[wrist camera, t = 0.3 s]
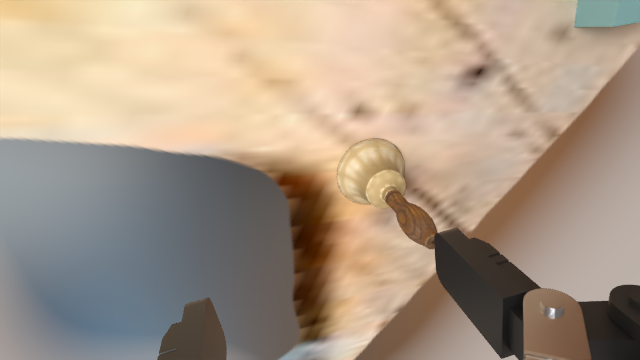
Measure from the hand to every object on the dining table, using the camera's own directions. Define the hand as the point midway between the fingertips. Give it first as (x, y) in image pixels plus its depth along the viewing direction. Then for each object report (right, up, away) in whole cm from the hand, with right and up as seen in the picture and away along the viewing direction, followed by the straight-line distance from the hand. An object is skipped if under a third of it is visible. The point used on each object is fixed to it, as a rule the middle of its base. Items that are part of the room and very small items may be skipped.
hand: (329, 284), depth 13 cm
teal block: (+31, +24, +29) cm, 48 cm away
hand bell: (+6, +5, +31) cm, 32 cm away
